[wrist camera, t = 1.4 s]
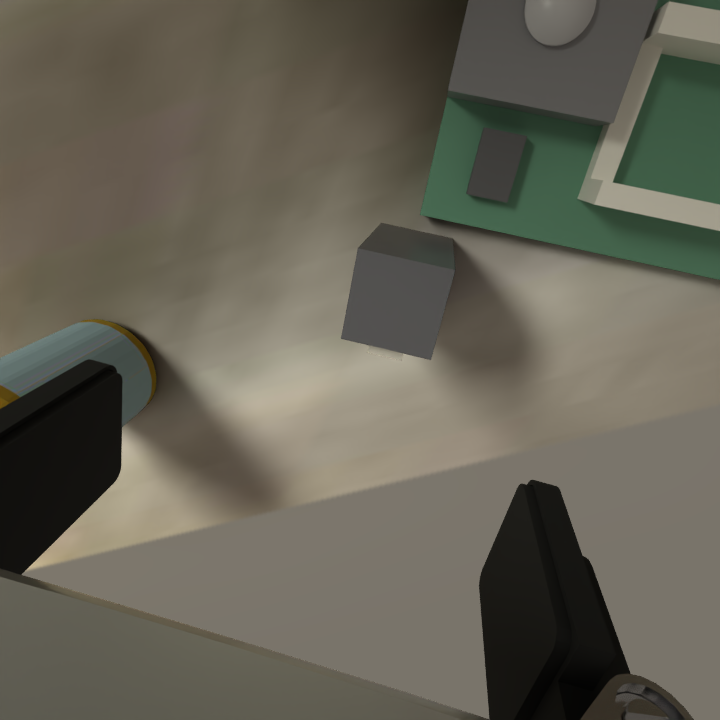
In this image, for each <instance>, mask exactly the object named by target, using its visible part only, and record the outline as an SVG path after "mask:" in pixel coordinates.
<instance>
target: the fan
mask: <svg viewBox="0 0 720 720" xmlns="http://www.w3.org/2000/svg"><path fill="white" fill-rule="evenodd" d="M657 2H658V0H468V5H467V9H466V13H465V18H464V22H463V26H462V31H461V35H460V39H459V44H458V48H457V52H456V57H455V61H454V65H453V70H452V74H451V78H450V83H449V87H448V95H447V97H451V98H457V99H462V100H467V101H472V102H477V103H482V104H487V105H492V106H497V107H502V108H507V109H512V110H517V111H522V112H527V113H532V114H537V115H542V116H547V117H552V118H557V119H562V120H567V121H572V122H577V123H582V124H587V125H592V126H601V125H606V124H612V123H614V121H615V118H616V115H617V112H618V109H619V107H620V104H621V101H622V98H623V96H624V93H625V90H626V87H627V85H628V82H629V79H630V76H631V73H632V71H633V68H634V65H635V62H636V60H637V57H638V54H639V51H640V49H641V46H642V43H643V40H644V37H645V35H646V32H647V29H648V26H649V24H650V21H651V18H652V15H653V13H654V10H655V7H656V4H657Z"/></svg>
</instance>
